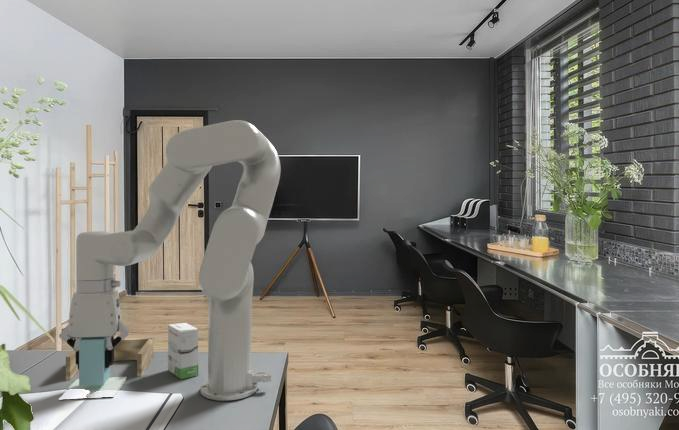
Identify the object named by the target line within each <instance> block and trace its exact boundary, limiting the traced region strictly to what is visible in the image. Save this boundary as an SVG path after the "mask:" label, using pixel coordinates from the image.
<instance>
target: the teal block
mask: <svg viewBox="0 0 679 430" xmlns="http://www.w3.org/2000/svg"><path fill="white" fill-rule="evenodd" d="M106 347H107V346H106V343H105V338H104V337H101V338H83V339H81V340H79V372H78V377H79V378H78V379H79V386H86V385H104V383H105V382H106V381H107V380H108V379H109V377H111V365H110V366H109V367H108V368H105V351H106Z"/></svg>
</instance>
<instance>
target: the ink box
mask: <svg viewBox="0 0 679 430" xmlns="http://www.w3.org/2000/svg"><path fill="white" fill-rule="evenodd" d="M167 326H168V327H167V342H168V343H167V354H168V355H167V363H168V364H167V367H168V368H167V370H168V371H169V372H170V373H172V374H173V375H174V376H175V377H176V378H178V379H179V380H184V379H188V378H193V377H197V376H199V328H197V327H195V326H193V325H191V324H189V323H187V322H181V323H170V324H168V325H167Z"/></svg>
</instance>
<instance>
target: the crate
mask: <svg viewBox="0 0 679 430" xmlns="http://www.w3.org/2000/svg"><path fill="white" fill-rule="evenodd" d="M153 359H154V337H141V338H140V337H138V338H124V339H123V340H121V341H120V342H119V343H118V344H117V345H116V346H115V347H114V361H133V360H134V361H136V363H137V364H136V366H137V367H136V369H137V370H136V376H137V377H142V376H143V375H144V373H145V371H146V370H147V369H148V367H149V365H150V364H151V362H152V360H153ZM77 374H79V369H78V364H76V352H75V351H74V350H73V351H71V352H70V353H68V355H66V356H65V380H66V381H68V380H69V381H70V380H71V379H73V378H74V377H75V376H76V375H77Z"/></svg>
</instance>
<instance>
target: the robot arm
mask: <svg viewBox="0 0 679 430" xmlns="http://www.w3.org/2000/svg"><path fill="white" fill-rule="evenodd" d="M270 141H271V140H269V139H268V138H267V137H266V136H265V135H264V134H263V133H262V132H261V131H260V130H259V129H258V128H257V127H256V126H255V125H254V124H252V123H250V122H248V121H246V120H240V119H239V120H238V119H236V120H235V119H233V120H228V121H223V122H217V123H213V124H209V125H204V126H199V127H194V128H188V129H185V130H181V131H178V132H176V133H175V134H174V135H172V136H171V137H170V138H169V140H168V141H167V144H166V146H165V155H166V160H167V161H166V162H165V164H164V165H163V167H162V168H161V169H160V171H159V173H157V175H156V177H155V178H154V179H153V181H152V182H151V183H150V184H149V187H148V194H149V195H148V196H149V205H148V207H147V210H146V212H145V213H144V215H143V216H142V218H141V220H140V221H139V223H138V224H137V225H136V226H135V227H134V229H133V230H126V231H120V232H115V233H113V232H112V233H111V232H109V231H100V230H99V231H97V230H96V231H83V232H80V233H79V234H78V235H77V237H76V240H75V241H76V244H75V249H76V250H75V255H76V256H75V258H76V259H75V266H76V267H75V268H76V269H75V273H76V275H75V276H76V280H75V283H76V284H75V287H76V288H75V291H76V292H74V293H73V295H72V297H71V302H70V303H71V304H70V308H69V315H68V316H69V318H68V324H67V325H66V326H65V327H64V328H63V329H62V331H61V332H60V334H59V335H58V337H59V339H60V340H62V341H64V342H66V344H67V345H69V346H70V347H71V348H72V349H73V351H75V352H76V364H78V369H79V340H81V339H83V338H101V337H104V338H105V343H106V346H107V347H106V351H105V368H108V367H109V366H110V367H111V366H112V364H114V347H115V346H116V345H117V344H118V343H119V342H120V341H121V340H123V339H126V338H127V337H128V336H129V335H130V334H131V331H130V330H129V329H128V327H127V326H126V325H125V323H124V322H122V310H121V301H120V295H119V291H118V290H115V289H116V288H120V287H121V281H120V280H116V279H115V276H114V275H115V273H114V271H115V270H114V269H115V268H114V267H115V266H118V267H125V266H130V265H135V264H137V263H140V262H144V261H147V260H149V259H151V257H153V256H154V255H155V254H156V253H157V252H158V250H159V249H160V248H161V246H162V245H163V244H164V242H165V241H166V239H167V238H168V237H169V235H170V234H171V233H172V230H174V227H175V225H176V223H177V221H178V219H179V218H180V215H181V213H182V211H183V208H184V206H185V205H186V203H188V201H189V199H190V198H191V196H192V195H193V194H194V192H195V191H196V190H197V188H198V187H199V186H200V184H201V183H202V181H203V180H204V179H205V177H206V176H207V174H208V173H209V172H210V171H211V169H212V168H213V167H214V166H220V165H224V164H229V163H235V162H238V163H240V164H241V165H242V167H243V172H242V175H241V178H240V180H239V181H238V182H239V183H238V185H237V189H236V192H235V195H234V199H233V201H232V204H231V206H230V207H228V208H226V209H225V210H223V211H222V212H221V213H220V214H219V216H218V217H217V218H216V221H215V222H214V225H213V227H212V230H211V232H210V237H209V239H208V242H207V245H206V249H205V251H204V255H203V258H202V262H201V264H200V267H199V272H198V285H199V287H200V290H201V293H202V294H203V295H204V296H205V297H206V298H208V299H209V302H208V303H209V304H208V328H207V329H208V339H207V341H208V342H207V343H208V346H207V347H208V348H207V353H208V354H207V362H208V363H207V364H208V365H207V380H206V381H205V382H203V383H202V384H201V386H200V394H201V396H203V398H206V399H209V400H211V401H219V402H221V401H222V402H225V401H226V402H228V401H236V400H241V399H246V398H248V397H250V396H252V395H254V394H255V393H256V392H257V390H258V387H259V386H258V383H272V373H271V372H269V373H268V372H267V373H266V370H260V371H256V370H255V369H253V365H252V322H253V321H252V320H253V319H252V317H253V292H254V282H255V279H254V278H255V276H254V267H253V264H252V259H253V257H254V252H255V250H256V248H257V245H258V244H259V243H260V242H261V240H262V239H263V237H264V236H265V233H266V232H265V231H266V228H267V224H268V221H269V217H270V214H271V211H272V209H273V204H274V201H275V196H276V192H277V189H278V186H279V183H280V178H281V171H282V169H281V168H282V167H281V160H280V157H279V154H278V151H277V150H276V148H275V147H274V145H273V143H271V142H270ZM118 332H120V334H118V336H116V335H117V333H118ZM115 336H116V338H115Z"/></svg>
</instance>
